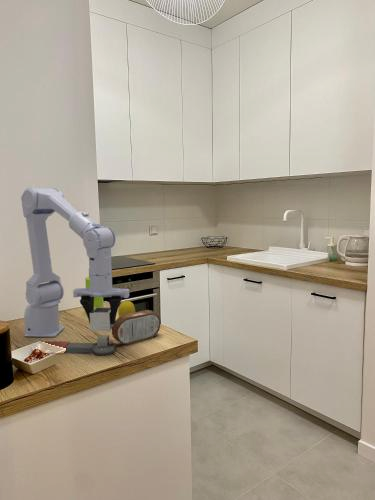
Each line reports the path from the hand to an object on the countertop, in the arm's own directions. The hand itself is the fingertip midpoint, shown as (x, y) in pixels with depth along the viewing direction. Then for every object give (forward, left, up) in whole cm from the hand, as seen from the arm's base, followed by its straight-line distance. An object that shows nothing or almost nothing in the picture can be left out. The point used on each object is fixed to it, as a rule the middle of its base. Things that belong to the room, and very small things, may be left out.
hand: (102, 322), depth 99 cm
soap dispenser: (-11, +31, -8) cm, 34 cm away
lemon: (+2, +22, -8) cm, 24 cm away
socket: (0, 0, -1) cm, 1 cm away
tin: (+8, +8, -8) cm, 14 cm away
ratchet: (-7, 0, -8) cm, 11 cm away
